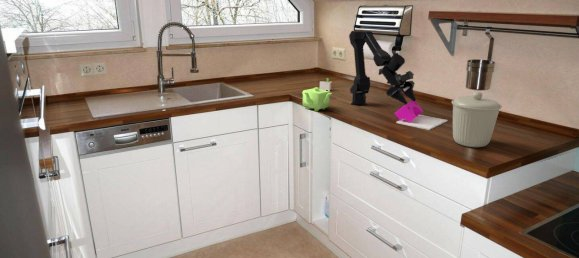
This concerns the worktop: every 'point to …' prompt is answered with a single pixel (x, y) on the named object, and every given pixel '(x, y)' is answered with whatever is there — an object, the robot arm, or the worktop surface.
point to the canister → (474, 120)
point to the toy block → (409, 111)
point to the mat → (423, 122)
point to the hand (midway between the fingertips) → (411, 102)
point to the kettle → (316, 99)
